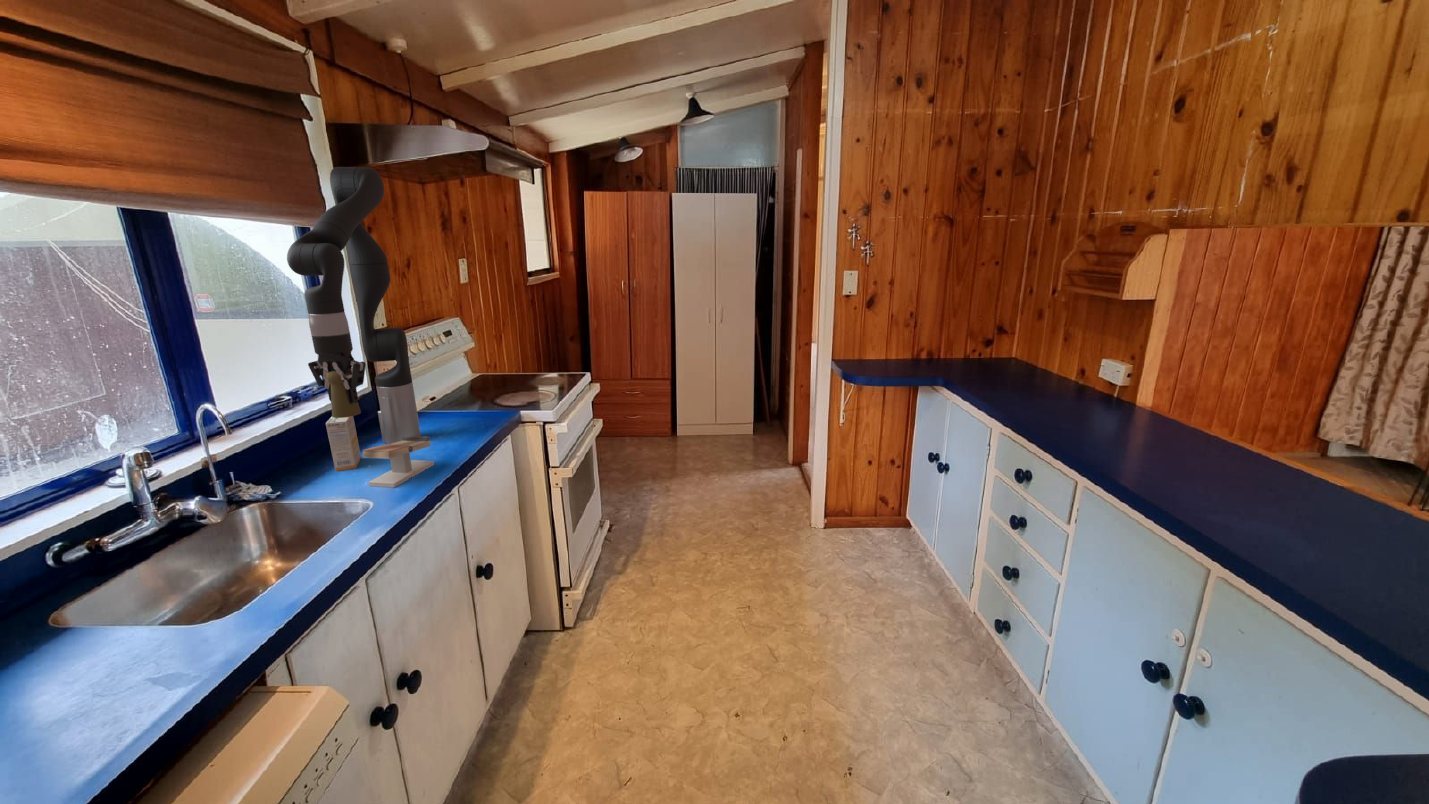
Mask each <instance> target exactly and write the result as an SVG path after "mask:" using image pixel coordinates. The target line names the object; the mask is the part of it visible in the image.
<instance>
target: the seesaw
mask: <svg viewBox="0 0 1429 804" xmlns="http://www.w3.org/2000/svg"><path fill="white" fill-rule="evenodd" d="M402 439H403V441H399V442H395V443H392V444H387V443H386V444H385V443H383V444H381V445H377V446H373V447H369V448H366V449H363V450H362V455H363V457H362V458H366V459H386V460H390V458H393V457H397V456H400V455H403V454H406V453H409V454H410V453H412V452H416V451H419V450H422V449H425V448H428V447H431V446H432V445H431V436H426V435H423V436H422V435H421V436H403V437H402Z"/></svg>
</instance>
